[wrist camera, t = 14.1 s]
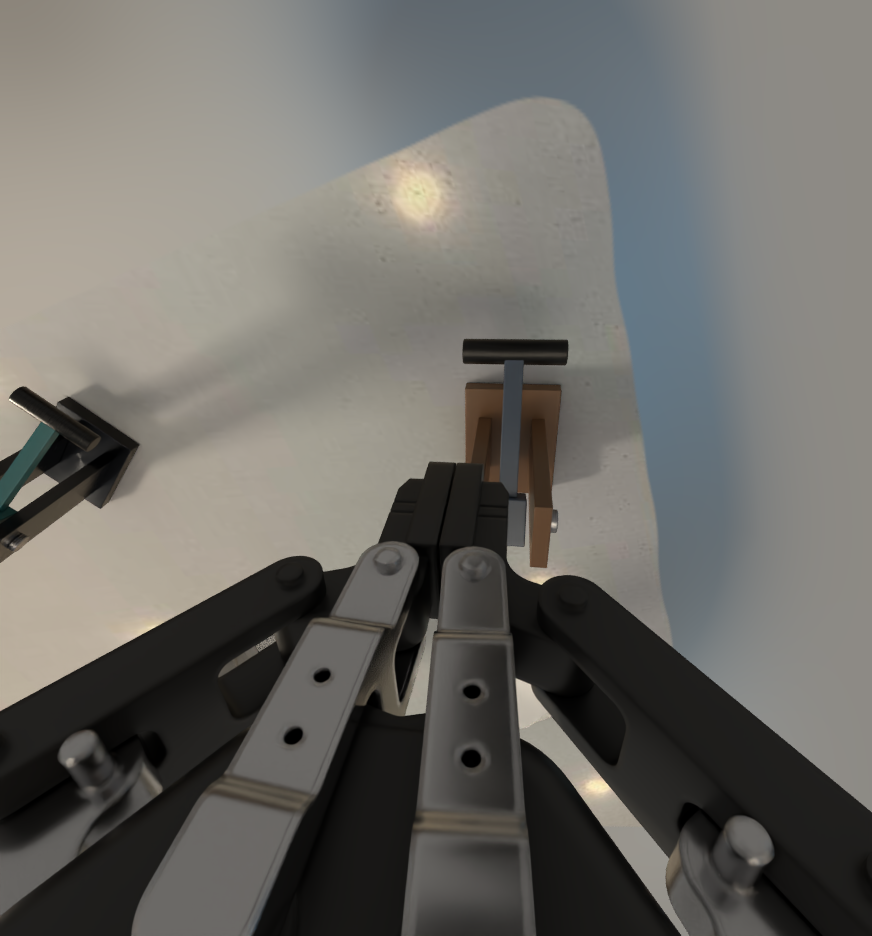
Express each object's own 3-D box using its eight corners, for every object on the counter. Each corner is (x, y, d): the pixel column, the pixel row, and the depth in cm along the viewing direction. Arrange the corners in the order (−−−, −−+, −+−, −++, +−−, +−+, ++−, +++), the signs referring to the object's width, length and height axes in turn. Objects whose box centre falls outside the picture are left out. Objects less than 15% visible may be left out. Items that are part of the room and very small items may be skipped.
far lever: (33, 384, 38) (10, 387, 35) (107, 434, 39) (90, 439, 37) (-52, 508, 39) (-80, 518, 36) (22, 552, 40) (0, 564, 38)
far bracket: (68, 396, 45) (-79, 470, 34) (139, 444, 46) (21, 529, 35) (42, 460, 49) (-95, 543, 38) (108, 502, 50) (-5, 594, 40)
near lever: (465, 341, 31) (462, 336, 29) (565, 342, 30) (570, 337, 28) (459, 532, 33) (455, 542, 30) (554, 538, 32) (557, 549, 30)
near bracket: (466, 382, 39) (444, 467, 28) (560, 384, 38) (575, 473, 27) (466, 482, 43) (448, 588, 32) (550, 486, 42) (560, 597, 31)
